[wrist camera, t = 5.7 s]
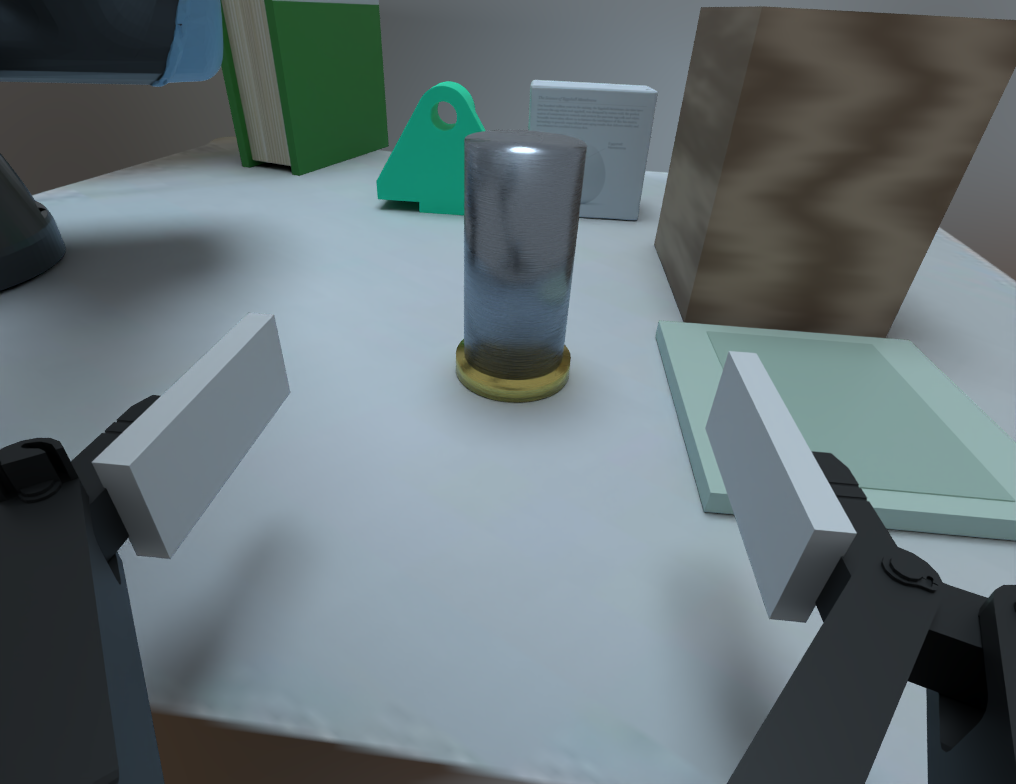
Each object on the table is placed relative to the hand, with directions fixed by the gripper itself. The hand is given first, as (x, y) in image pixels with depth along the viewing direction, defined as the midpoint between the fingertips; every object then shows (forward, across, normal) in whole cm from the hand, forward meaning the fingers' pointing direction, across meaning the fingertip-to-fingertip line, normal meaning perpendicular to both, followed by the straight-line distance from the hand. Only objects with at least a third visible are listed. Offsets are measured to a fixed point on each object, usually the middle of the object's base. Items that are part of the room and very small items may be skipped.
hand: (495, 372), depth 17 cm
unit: (+25, +16, -6) cm, 30 cm away
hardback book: (+55, -26, -7) cm, 61 cm away
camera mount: (+40, -8, -7) cm, 41 cm away
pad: (+9, +15, -7) cm, 19 cm away
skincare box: (+41, +4, -7) cm, 41 cm away
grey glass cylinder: (+11, 0, -7) cm, 13 cm away
